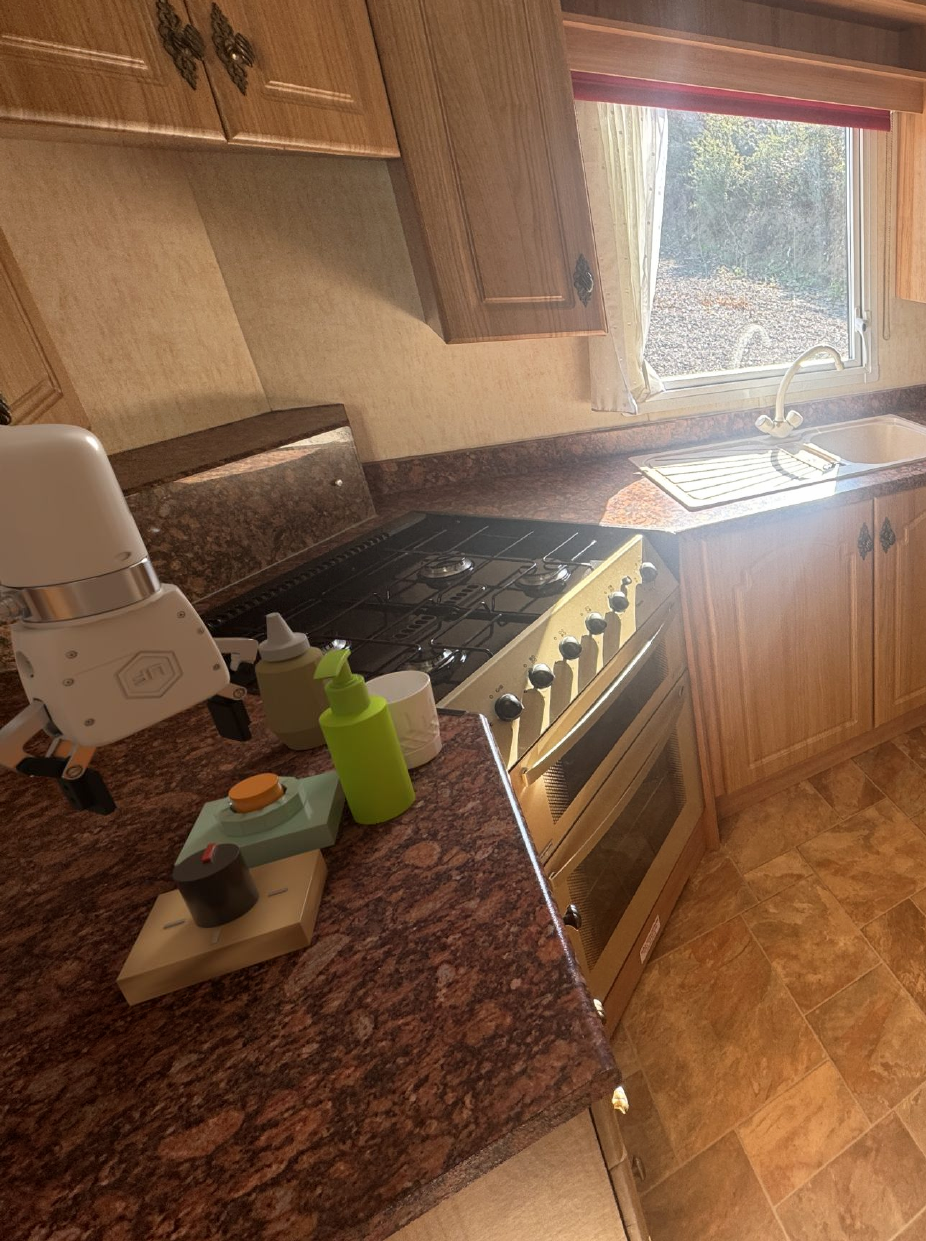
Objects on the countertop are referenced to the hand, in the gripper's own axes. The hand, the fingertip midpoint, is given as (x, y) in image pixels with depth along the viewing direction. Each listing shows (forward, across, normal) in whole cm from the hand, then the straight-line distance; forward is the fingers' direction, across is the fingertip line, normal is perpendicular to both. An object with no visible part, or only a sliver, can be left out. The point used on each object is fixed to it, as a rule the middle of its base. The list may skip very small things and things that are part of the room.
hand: (173, 771), depth 61 cm
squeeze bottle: (+18, +23, +22) cm, 37 cm away
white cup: (+18, +24, +8) cm, 31 cm away
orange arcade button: (+13, +9, +9) cm, 19 cm away
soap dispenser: (+18, +16, +2) cm, 24 cm away
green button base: (+18, +9, +10) cm, 22 cm away
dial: (+15, -1, -1) cm, 15 cm away
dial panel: (+18, -1, 0) cm, 18 cm away
